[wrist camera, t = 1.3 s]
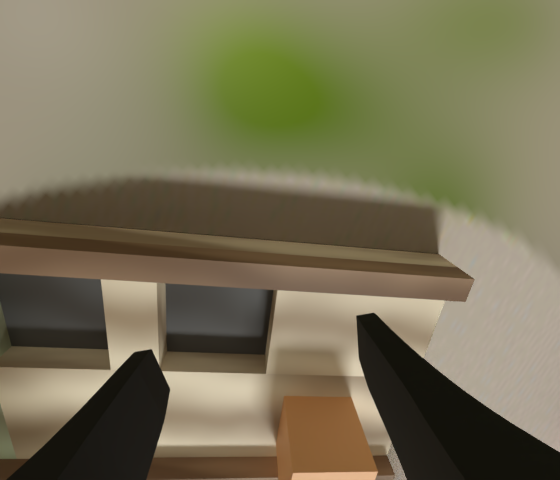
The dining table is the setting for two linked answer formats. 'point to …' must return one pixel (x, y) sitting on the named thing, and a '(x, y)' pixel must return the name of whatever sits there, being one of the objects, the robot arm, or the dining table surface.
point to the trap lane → (200, 334)
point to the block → (322, 440)
